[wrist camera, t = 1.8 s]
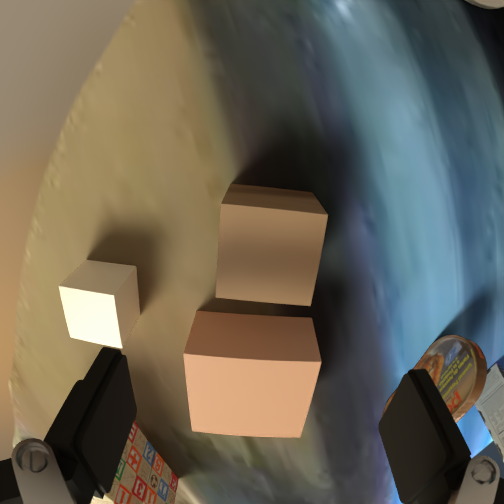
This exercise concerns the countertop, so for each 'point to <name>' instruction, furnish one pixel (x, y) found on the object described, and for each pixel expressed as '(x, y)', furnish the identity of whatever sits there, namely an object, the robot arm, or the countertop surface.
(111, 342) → the off-white cube
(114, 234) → the countertop surface
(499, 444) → the candy box
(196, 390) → the terracotta block
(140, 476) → the stack of blocks
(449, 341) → the tin
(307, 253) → the walnut cube
